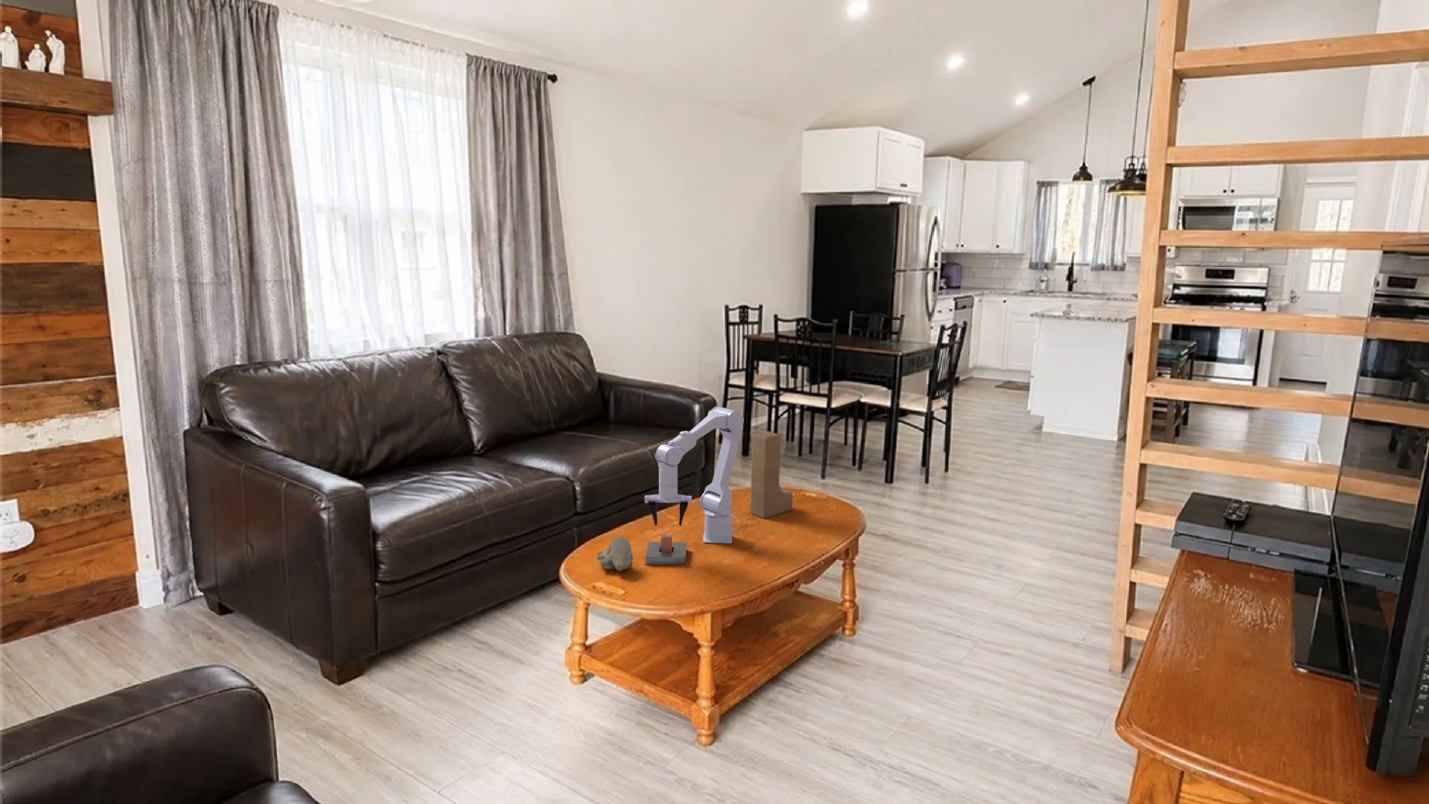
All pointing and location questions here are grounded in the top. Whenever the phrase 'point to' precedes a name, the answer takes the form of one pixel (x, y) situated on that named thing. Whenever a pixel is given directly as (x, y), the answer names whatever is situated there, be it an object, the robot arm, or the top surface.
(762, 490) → the decorative block
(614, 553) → the fossil
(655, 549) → the gray slotted base
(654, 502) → the robot arm
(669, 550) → the reddish brown rectangular block
